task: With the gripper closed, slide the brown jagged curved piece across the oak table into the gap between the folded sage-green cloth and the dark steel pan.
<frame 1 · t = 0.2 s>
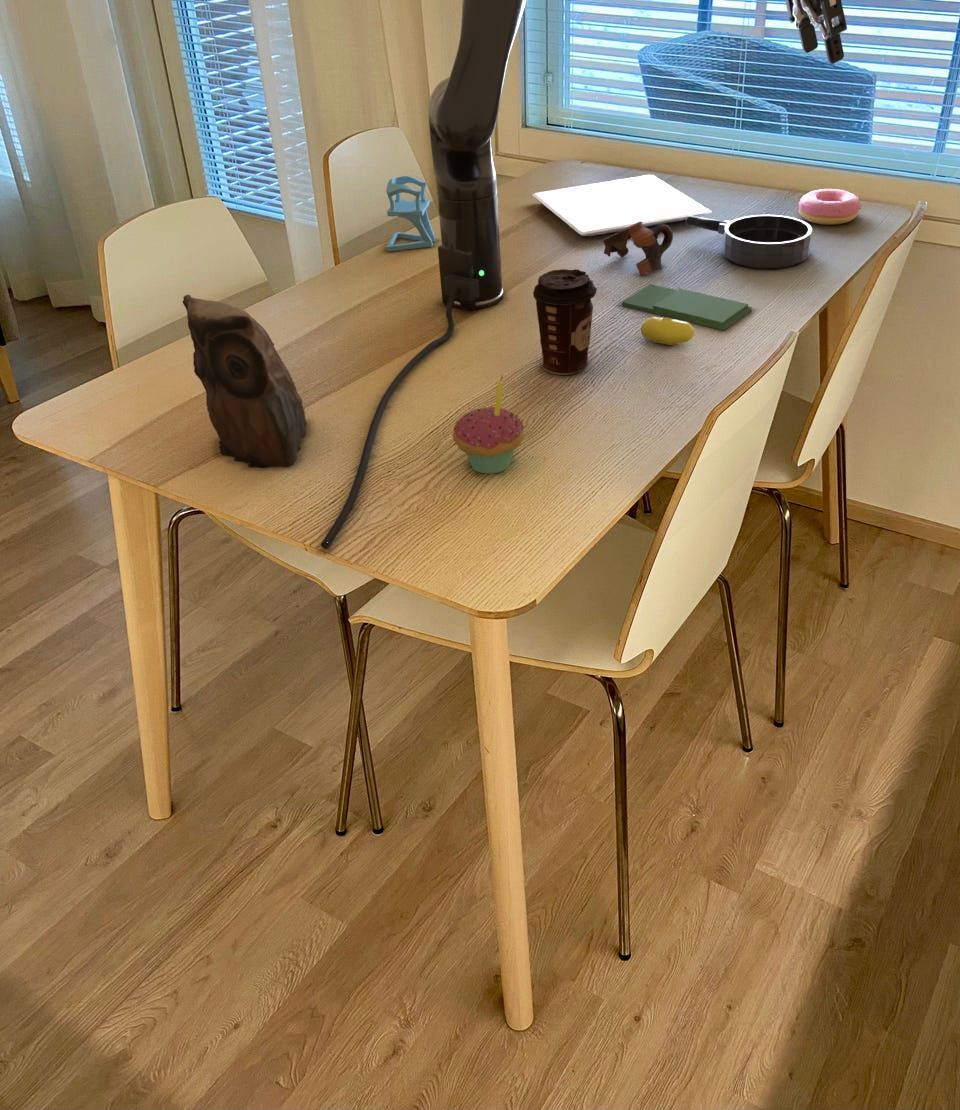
hand: (823, 55, 158), 31 cm above the table, tool tilted 20°, fingers open, 8 cm apart
pan handle: (709, 224, 181), point 3 cm above the table
doughnut: (827, 218, 190), on the table
pan: (765, 254, 177), on the table
owl: (271, 445, 135), on the table
chair: (412, 245, 192), on the table
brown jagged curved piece: (639, 265, 177), on the table
cupcake: (490, 466, 127), on the table
plate: (618, 213, 199), on the table
coffee cup: (566, 367, 148), on the table
lemon: (666, 343, 152), on the table
cloth: (685, 308, 161), on the table
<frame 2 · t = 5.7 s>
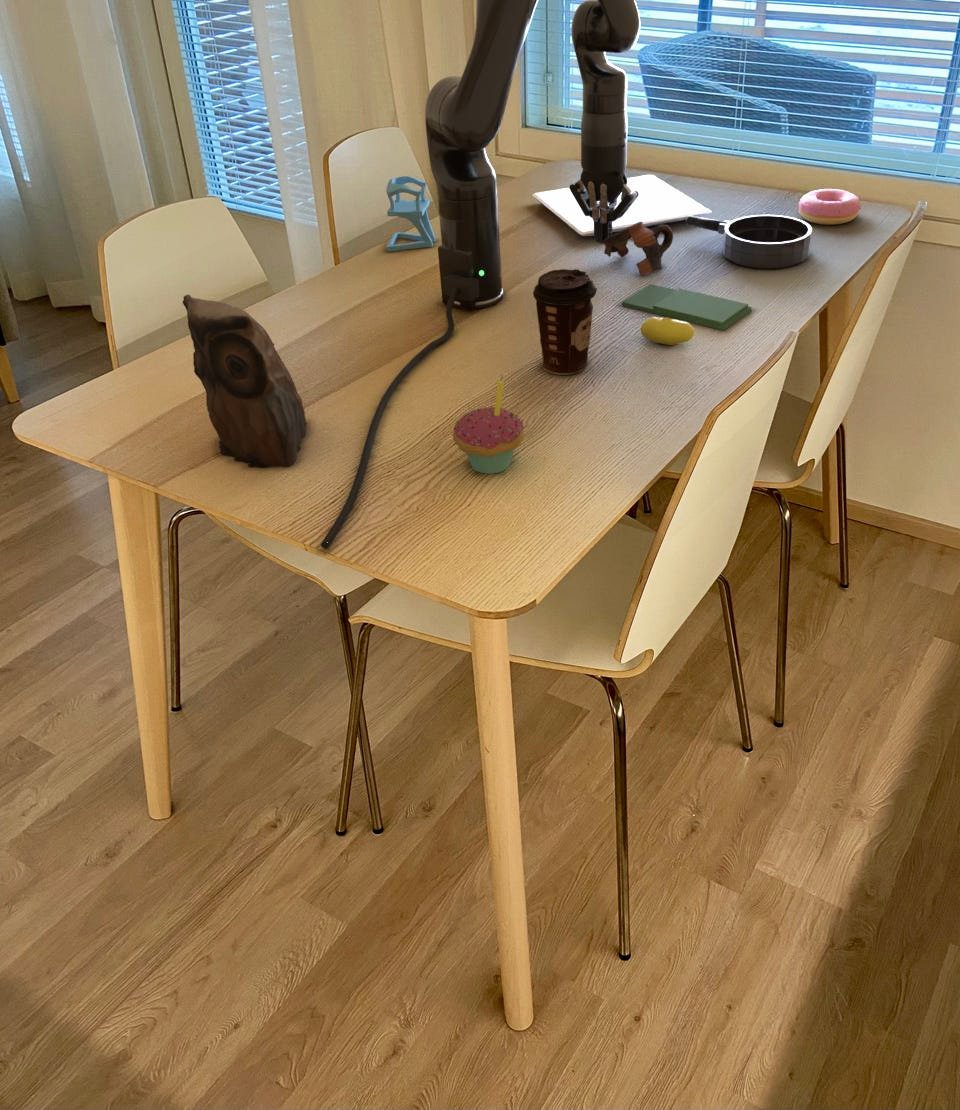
hand: (602, 242, 179), 3 cm above the table, tool pointing down, fingers closed
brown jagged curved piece: (639, 265, 177), on the table, touching gripper
everything else where it was.
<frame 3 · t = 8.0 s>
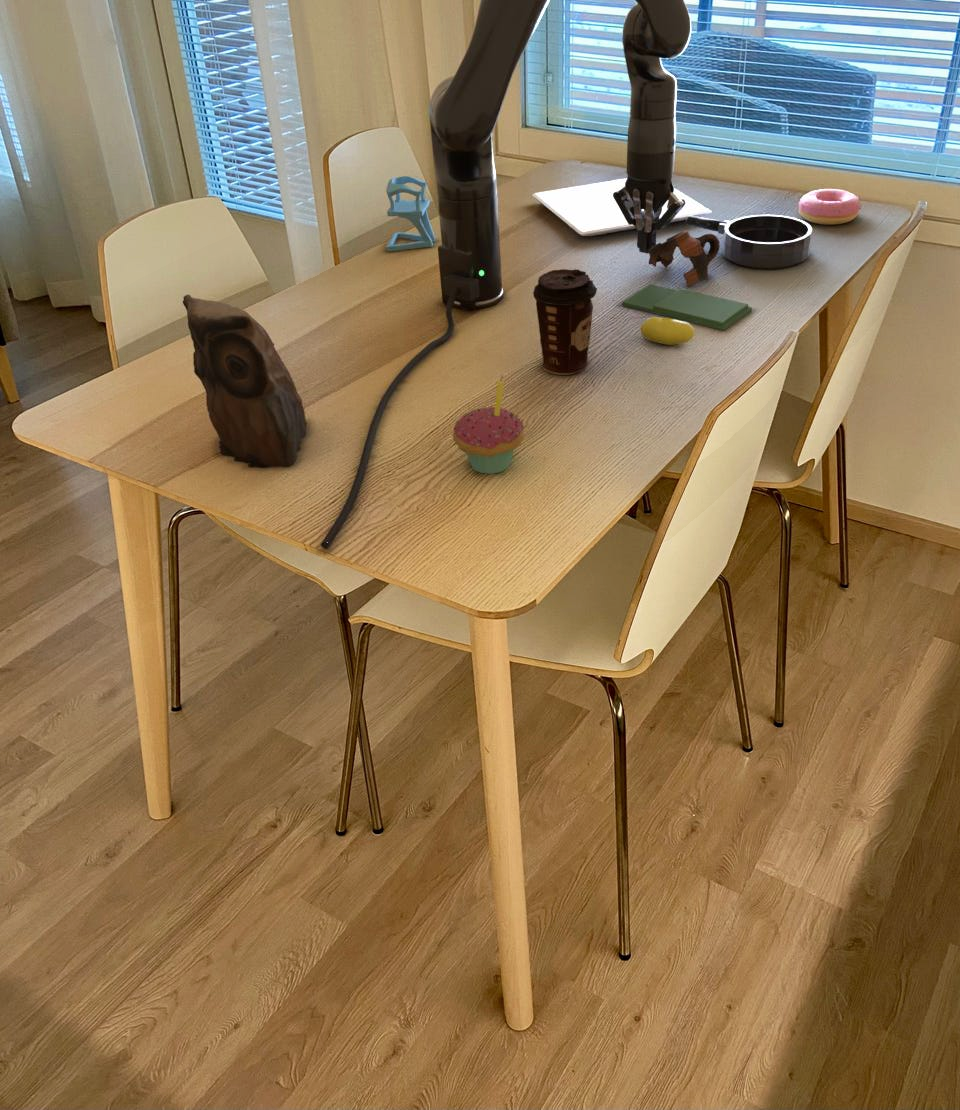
hand: (646, 251, 174), 3 cm above the table, tool pointing down, fingers closed
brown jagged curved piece: (684, 275, 172), on the table, touching gripper
everything else where it was.
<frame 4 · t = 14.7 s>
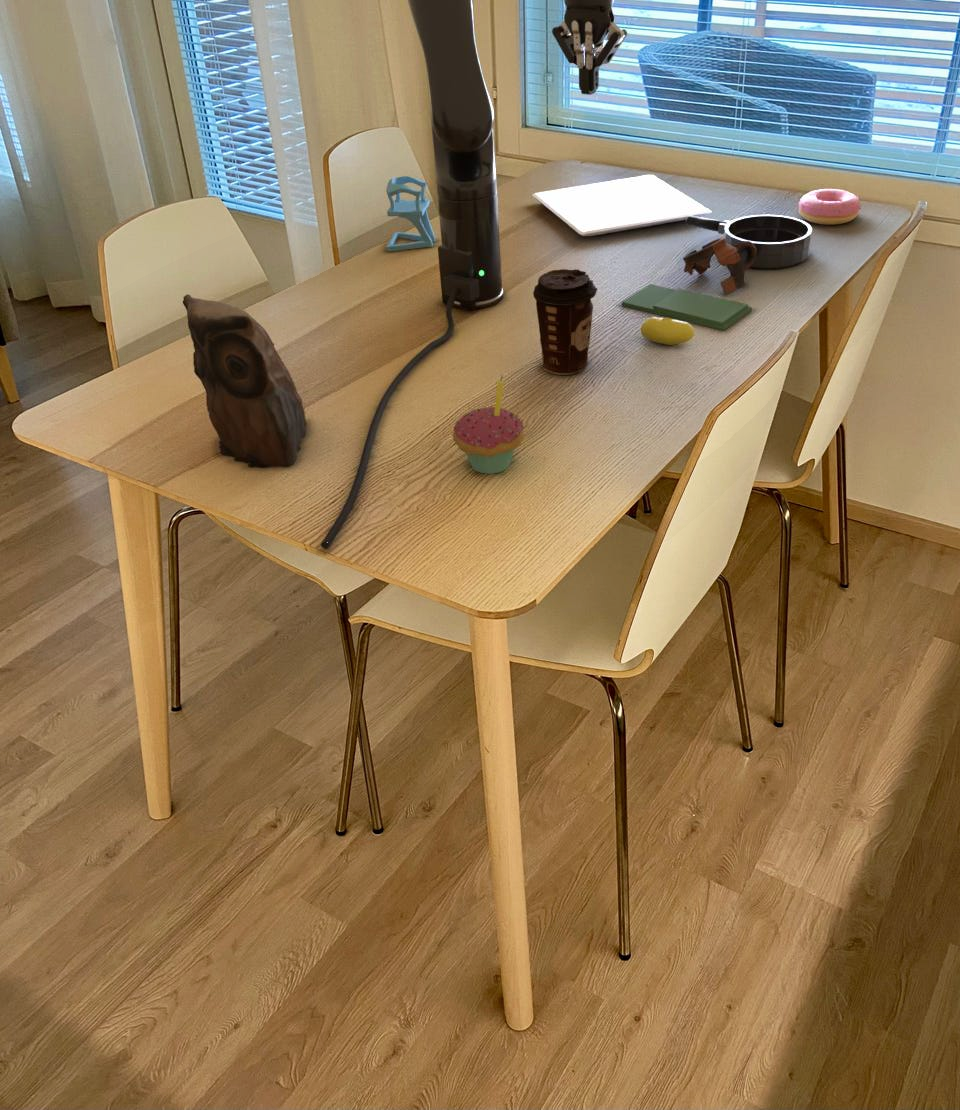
hand: (588, 93, 164), 27 cm above the table, tool pointing down, fingers closed
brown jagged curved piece: (720, 283, 168), on the table
everything else where it was.
at the end: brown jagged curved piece inside the target area (0.4 cm from its centre), on the table; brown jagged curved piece tilted 1° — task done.
